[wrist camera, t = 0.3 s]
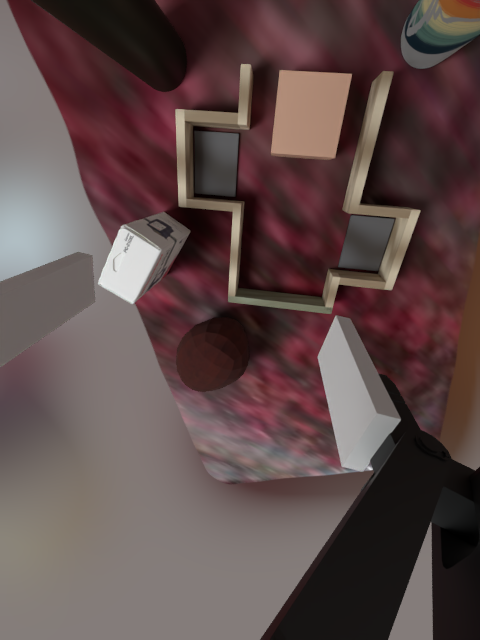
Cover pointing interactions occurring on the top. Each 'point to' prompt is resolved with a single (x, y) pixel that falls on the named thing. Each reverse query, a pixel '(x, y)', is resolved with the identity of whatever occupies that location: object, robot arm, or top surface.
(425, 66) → the lotion bottle
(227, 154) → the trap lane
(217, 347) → the potato
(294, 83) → the block
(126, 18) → the wine bottle
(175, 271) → the top surface
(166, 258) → the ink box
